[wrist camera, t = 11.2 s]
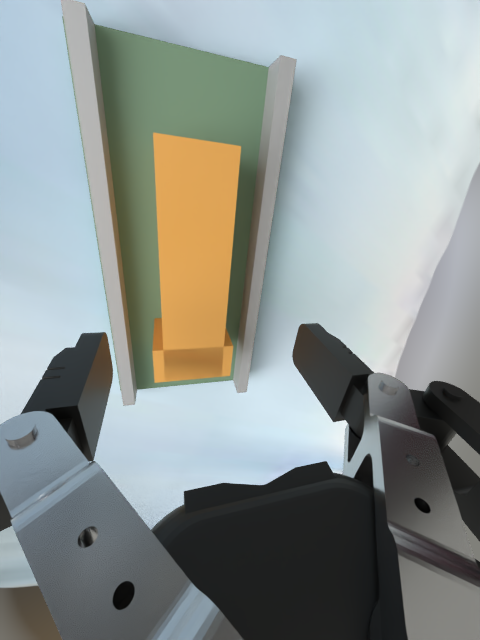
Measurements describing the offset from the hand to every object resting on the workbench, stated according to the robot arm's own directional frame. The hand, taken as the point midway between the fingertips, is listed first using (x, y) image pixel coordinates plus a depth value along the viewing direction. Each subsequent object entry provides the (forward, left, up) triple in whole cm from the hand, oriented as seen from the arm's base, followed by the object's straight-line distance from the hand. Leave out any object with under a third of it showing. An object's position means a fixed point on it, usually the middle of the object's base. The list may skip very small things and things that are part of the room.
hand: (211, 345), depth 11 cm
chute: (0, 0, -12) cm, 12 cm away
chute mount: (0, 0, -13) cm, 13 cm away
